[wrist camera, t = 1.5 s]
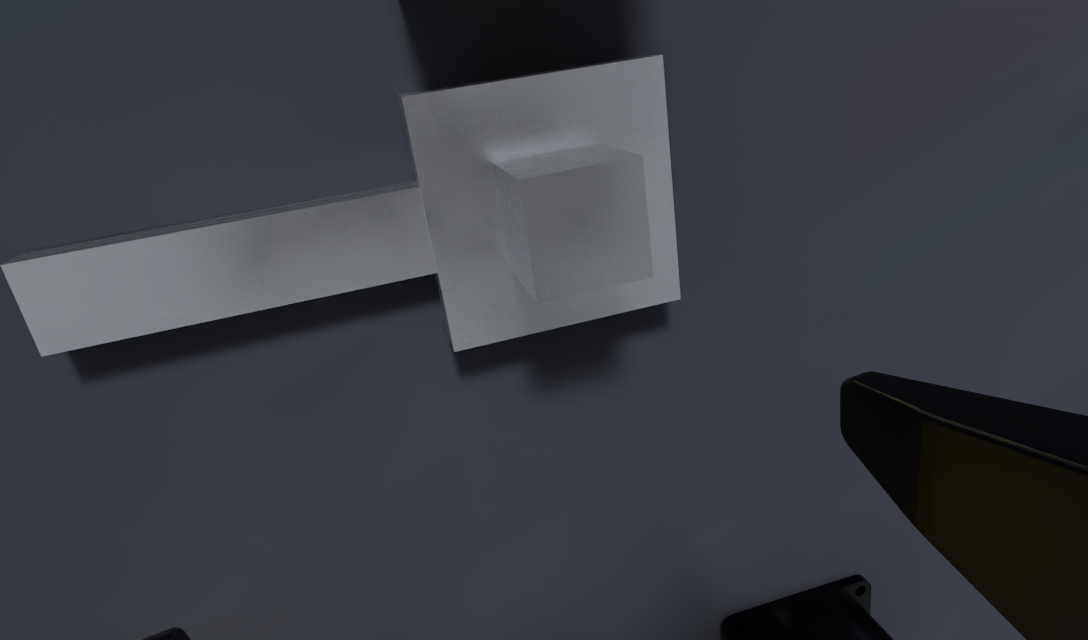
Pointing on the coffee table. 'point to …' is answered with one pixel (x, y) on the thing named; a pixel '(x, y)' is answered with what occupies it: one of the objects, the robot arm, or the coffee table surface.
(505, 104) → the hammer
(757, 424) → the coffee table surface
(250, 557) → the coffee table surface
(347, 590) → the coffee table surface
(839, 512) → the coffee table surface
